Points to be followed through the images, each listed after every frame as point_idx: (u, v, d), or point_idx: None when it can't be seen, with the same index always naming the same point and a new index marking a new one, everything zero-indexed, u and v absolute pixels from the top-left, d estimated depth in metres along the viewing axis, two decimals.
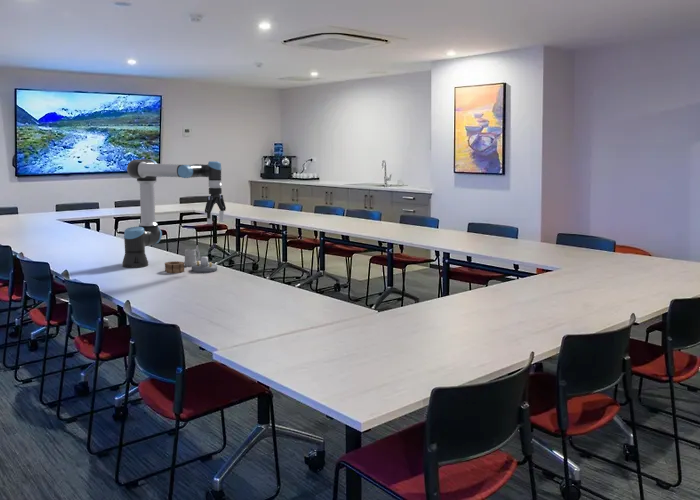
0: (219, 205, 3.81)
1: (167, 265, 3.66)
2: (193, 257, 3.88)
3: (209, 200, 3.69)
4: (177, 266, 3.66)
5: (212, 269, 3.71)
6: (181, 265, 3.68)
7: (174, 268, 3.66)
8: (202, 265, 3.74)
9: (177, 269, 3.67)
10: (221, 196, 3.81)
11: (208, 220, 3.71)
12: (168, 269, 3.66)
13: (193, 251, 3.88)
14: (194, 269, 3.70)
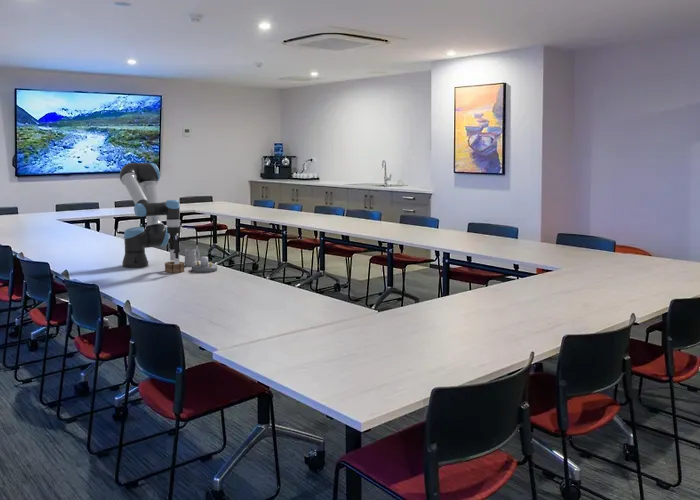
0: (172, 244, 3.73)
1: (167, 265, 3.66)
2: (193, 257, 3.88)
3: (176, 240, 3.62)
4: (177, 266, 3.66)
5: (212, 269, 3.71)
6: (181, 265, 3.68)
7: (174, 268, 3.66)
8: (202, 265, 3.74)
9: (177, 269, 3.67)
10: None
11: (175, 260, 3.63)
12: (168, 269, 3.66)
13: (193, 251, 3.88)
14: (194, 269, 3.70)
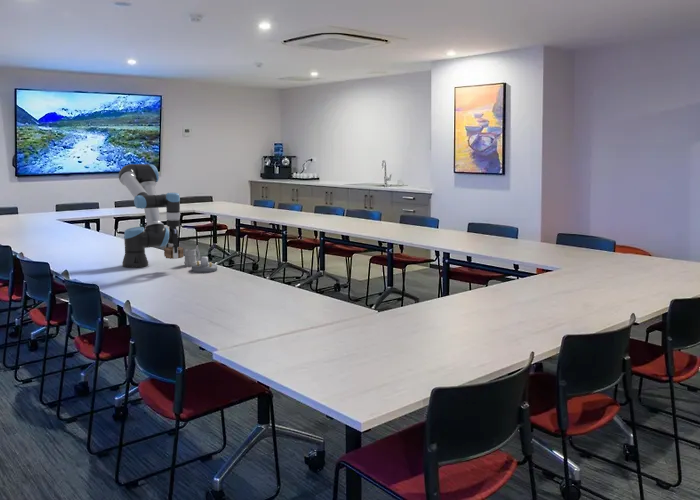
0: (172, 237, 3.72)
1: (166, 250, 3.65)
2: (193, 257, 3.88)
3: (176, 234, 3.62)
4: None
5: (212, 269, 3.71)
6: (180, 251, 3.67)
7: None
8: (202, 265, 3.74)
9: None
10: None
11: (174, 254, 3.64)
12: (167, 254, 3.65)
13: (193, 251, 3.88)
14: (194, 269, 3.70)
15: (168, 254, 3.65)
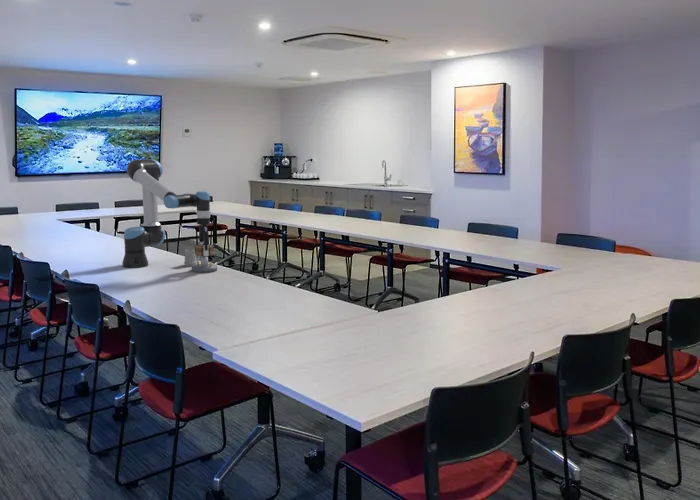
0: (202, 235, 3.76)
1: (197, 248, 3.69)
2: (193, 257, 3.88)
3: (206, 232, 3.66)
4: None
5: (212, 269, 3.71)
6: (210, 248, 3.71)
7: None
8: (202, 265, 3.74)
9: None
10: None
11: (205, 252, 3.68)
12: (198, 252, 3.69)
13: (193, 251, 3.88)
14: (194, 269, 3.70)
15: (198, 252, 3.69)
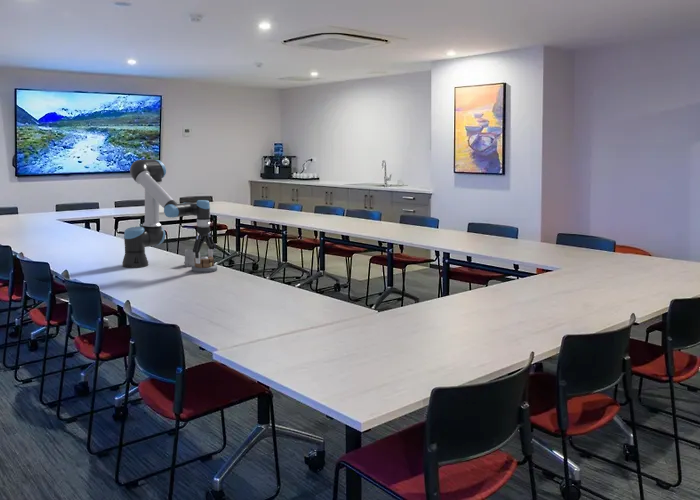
0: (208, 243, 3.78)
1: (194, 259, 3.74)
2: (193, 257, 3.88)
3: (197, 240, 3.66)
4: (200, 261, 3.70)
5: (212, 269, 3.71)
6: (204, 261, 3.70)
7: None
8: None
9: (200, 264, 3.70)
10: (210, 234, 3.78)
11: (196, 259, 3.68)
12: None
13: None
14: (194, 269, 3.70)
15: (195, 262, 3.73)
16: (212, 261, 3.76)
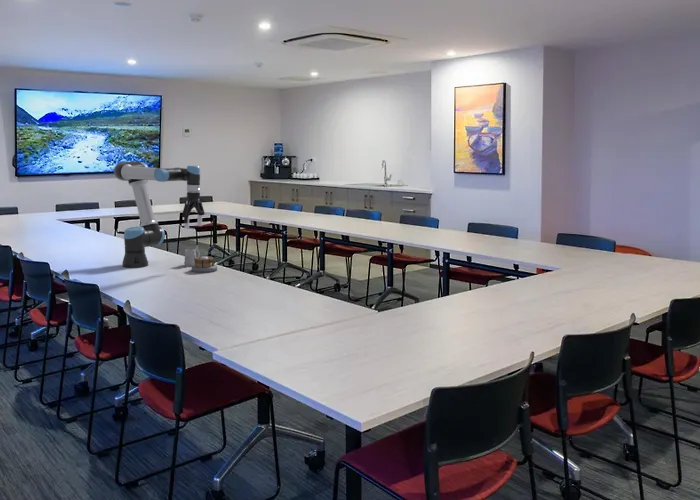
0: (197, 209, 3.79)
1: (194, 259, 3.74)
2: (193, 257, 3.88)
3: (187, 205, 3.67)
4: (200, 261, 3.70)
5: (212, 269, 3.71)
6: (204, 261, 3.70)
7: (197, 262, 3.71)
8: None
9: (200, 264, 3.70)
10: (199, 200, 3.79)
11: (185, 224, 3.70)
12: None
13: (193, 251, 3.88)
14: (194, 269, 3.70)
15: (195, 262, 3.73)
16: (212, 261, 3.76)
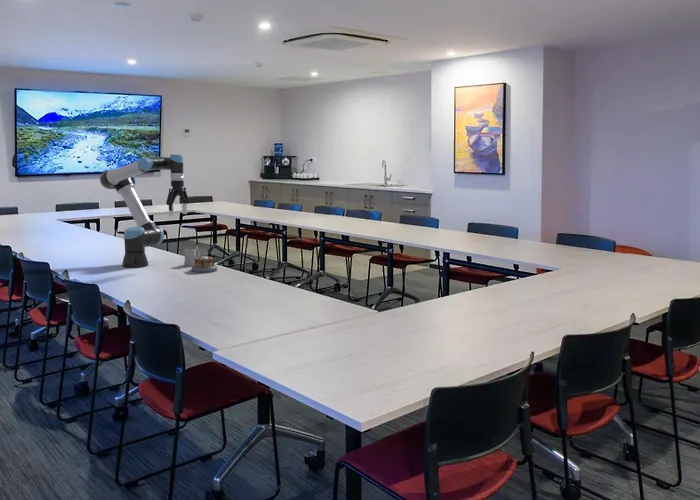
0: (182, 197, 3.85)
1: (194, 259, 3.74)
2: (193, 257, 3.88)
3: (171, 192, 3.73)
4: (200, 261, 3.70)
5: (212, 269, 3.71)
6: (204, 261, 3.70)
7: (197, 262, 3.71)
8: None
9: (200, 264, 3.70)
10: (184, 189, 3.85)
11: (170, 212, 3.76)
12: None
13: (193, 251, 3.88)
14: (194, 269, 3.70)
15: (195, 262, 3.73)
16: (212, 261, 3.76)
